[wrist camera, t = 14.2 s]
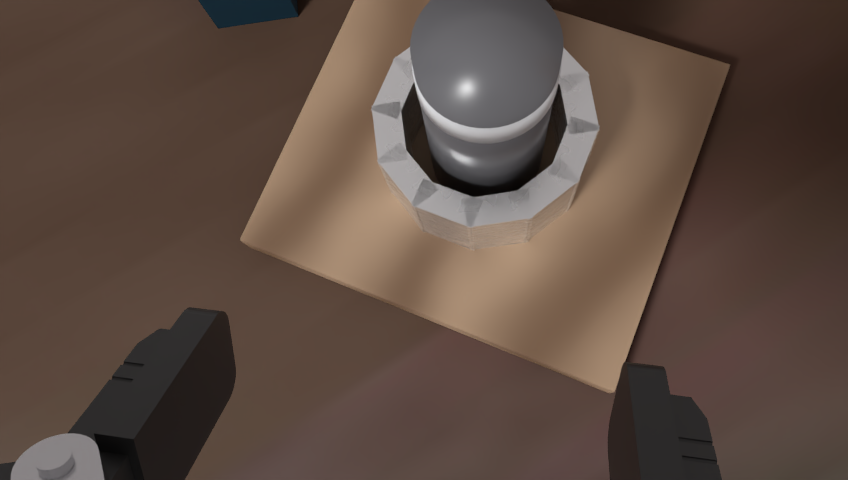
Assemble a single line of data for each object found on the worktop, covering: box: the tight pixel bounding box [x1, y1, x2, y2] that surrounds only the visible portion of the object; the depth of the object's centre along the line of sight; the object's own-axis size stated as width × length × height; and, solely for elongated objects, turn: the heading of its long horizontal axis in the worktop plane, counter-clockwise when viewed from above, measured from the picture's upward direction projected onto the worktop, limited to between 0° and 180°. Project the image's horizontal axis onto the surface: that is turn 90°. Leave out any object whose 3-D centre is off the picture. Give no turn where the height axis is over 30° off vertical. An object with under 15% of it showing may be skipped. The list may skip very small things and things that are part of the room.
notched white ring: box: [371, 47, 600, 251], centre depth 31 cm, size 9×9×4 cm
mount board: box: [240, 0, 730, 393], centre depth 34 cm, size 18×16×2 cm
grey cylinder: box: [410, 0, 563, 197], centre depth 28 cm, size 5×5×10 cm
